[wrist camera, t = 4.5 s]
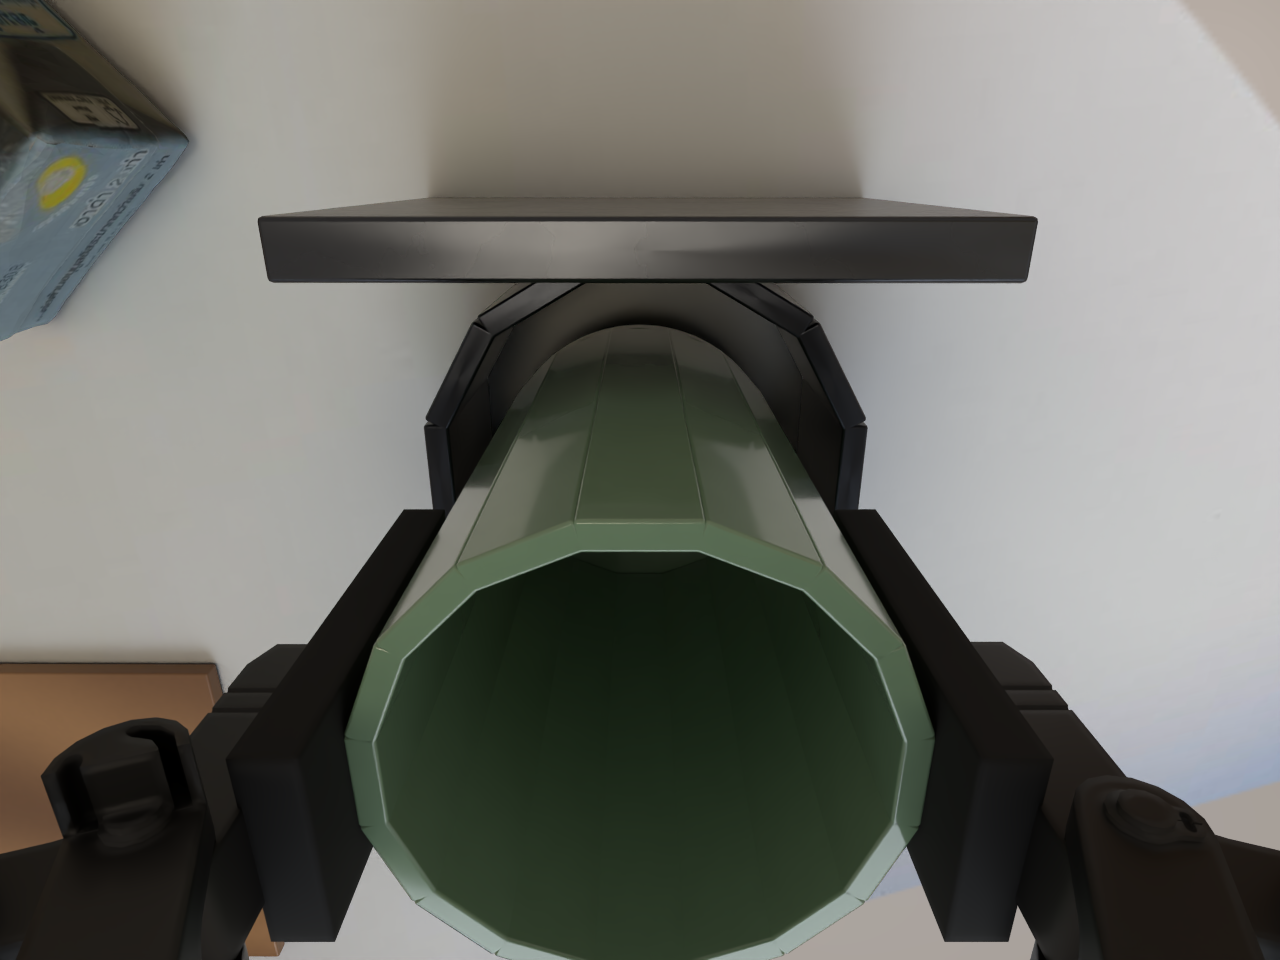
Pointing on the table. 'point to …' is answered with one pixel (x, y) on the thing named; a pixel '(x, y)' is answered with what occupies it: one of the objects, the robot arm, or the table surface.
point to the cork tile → (77, 707)
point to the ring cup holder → (648, 253)
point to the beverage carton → (66, 159)
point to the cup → (639, 680)
